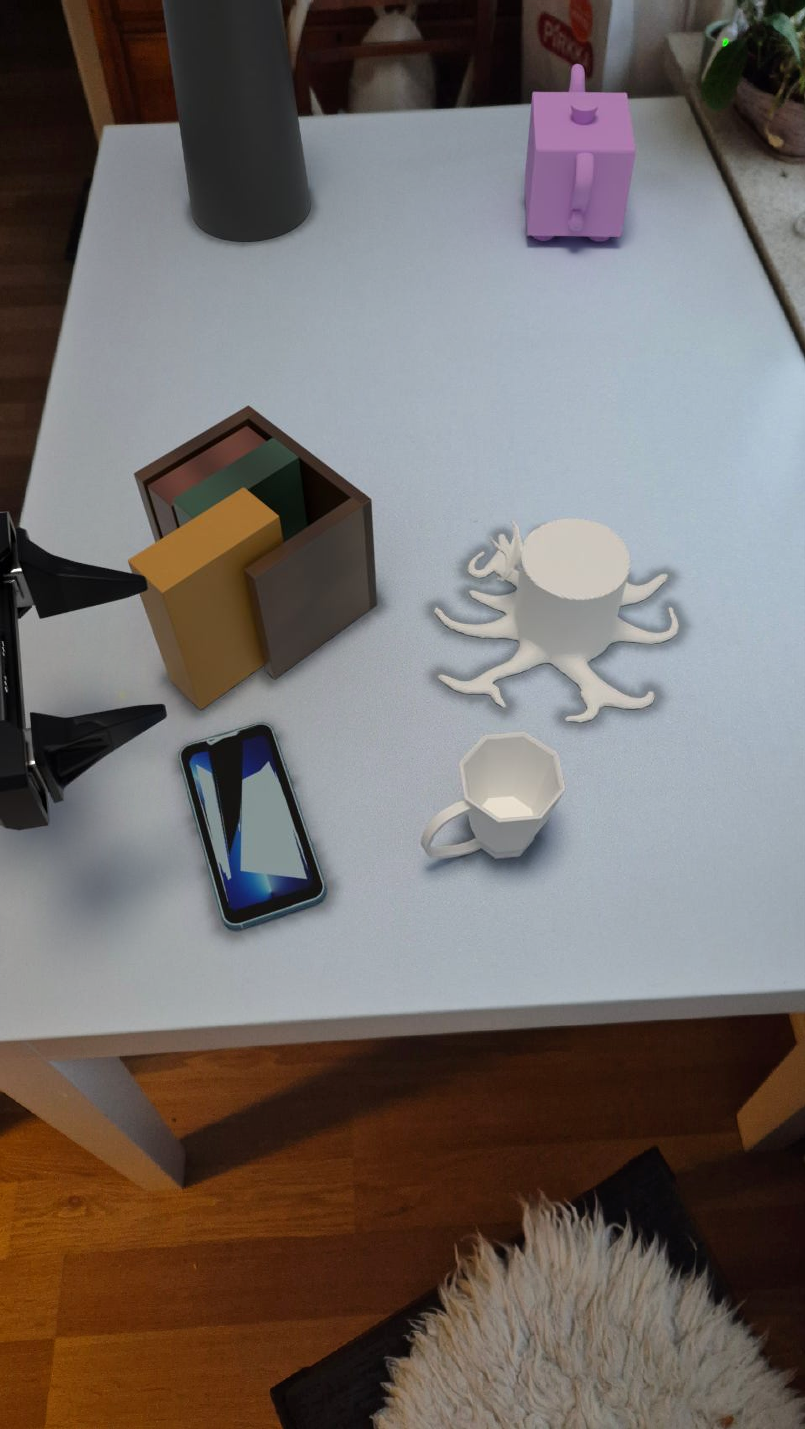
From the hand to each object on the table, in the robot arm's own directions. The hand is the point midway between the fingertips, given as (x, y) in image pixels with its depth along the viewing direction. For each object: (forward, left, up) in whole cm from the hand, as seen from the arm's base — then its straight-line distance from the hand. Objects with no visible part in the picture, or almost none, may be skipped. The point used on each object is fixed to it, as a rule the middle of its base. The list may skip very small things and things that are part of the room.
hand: (156, 644), depth 60 cm
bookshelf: (+8, +17, -17) cm, 25 cm away
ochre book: (+4, +11, -17) cm, 20 cm away
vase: (+15, +75, -17) cm, 78 cm away
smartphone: (+3, -4, -17) cm, 18 cm away
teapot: (+50, +65, -17) cm, 83 cm away
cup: (+19, -9, -17) cm, 27 cm away
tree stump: (+30, +8, -17) cm, 35 cm away
